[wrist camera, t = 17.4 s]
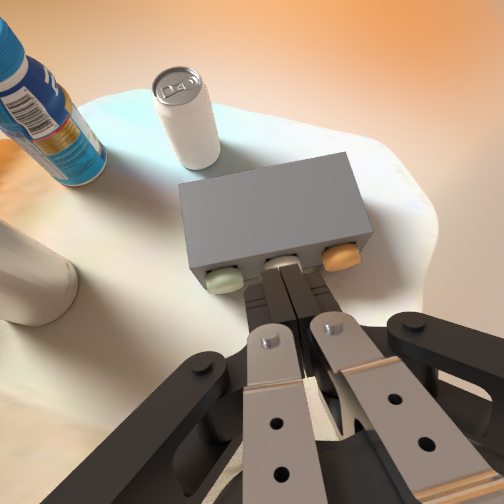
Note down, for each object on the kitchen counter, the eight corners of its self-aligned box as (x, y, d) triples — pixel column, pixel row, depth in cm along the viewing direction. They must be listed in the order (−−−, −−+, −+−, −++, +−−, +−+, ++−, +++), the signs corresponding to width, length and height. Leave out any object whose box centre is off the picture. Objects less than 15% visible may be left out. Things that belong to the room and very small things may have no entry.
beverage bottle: (43, 186, 49) (-97, 66, 31) (61, 137, 52) (-56, 0, 33) (100, 191, 48) (-8, 70, 30) (116, 141, 51) (26, 2, 33)
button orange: (322, 273, 40) (327, 262, 36) (312, 235, 42) (315, 220, 38) (356, 266, 40) (365, 254, 36) (344, 228, 42) (351, 213, 38)
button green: (210, 296, 40) (204, 287, 36) (204, 256, 41) (198, 244, 38) (245, 289, 40) (242, 279, 36) (237, 250, 42) (234, 236, 38)
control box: (204, 288, 43) (189, 268, 35) (193, 216, 46) (178, 184, 39) (355, 258, 43) (373, 231, 35) (333, 188, 47) (345, 151, 39)
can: (227, 161, 49) (214, 95, 38) (185, 178, 48) (158, 116, 37) (211, 127, 51) (194, 55, 40) (170, 143, 51) (140, 75, 39)
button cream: (266, 284, 40) (266, 274, 36) (258, 245, 42) (257, 232, 38) (301, 278, 40) (304, 267, 36) (291, 239, 42) (293, 225, 38)
